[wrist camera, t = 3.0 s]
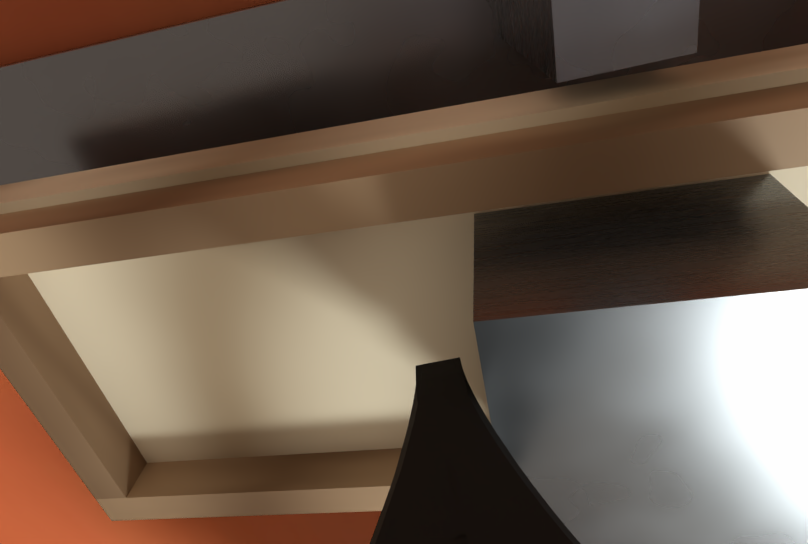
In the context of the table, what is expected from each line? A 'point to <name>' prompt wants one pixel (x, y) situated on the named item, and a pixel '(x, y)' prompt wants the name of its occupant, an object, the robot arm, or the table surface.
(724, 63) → the beam
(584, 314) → the block
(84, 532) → the table surface
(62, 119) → the beam stand
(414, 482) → the robot arm
